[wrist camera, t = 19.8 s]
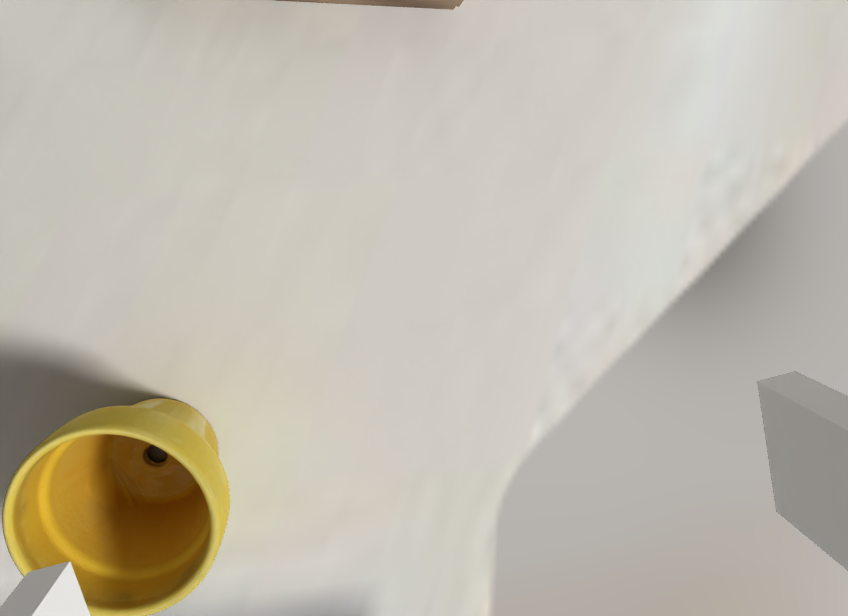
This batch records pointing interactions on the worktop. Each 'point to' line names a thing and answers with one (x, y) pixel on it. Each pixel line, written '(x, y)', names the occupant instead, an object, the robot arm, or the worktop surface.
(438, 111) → the worktop surface
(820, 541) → the robot arm
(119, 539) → the plant pot
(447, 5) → the platform
